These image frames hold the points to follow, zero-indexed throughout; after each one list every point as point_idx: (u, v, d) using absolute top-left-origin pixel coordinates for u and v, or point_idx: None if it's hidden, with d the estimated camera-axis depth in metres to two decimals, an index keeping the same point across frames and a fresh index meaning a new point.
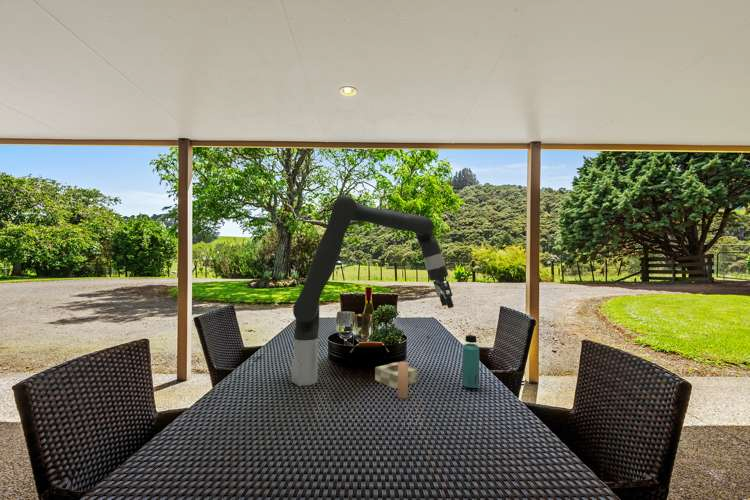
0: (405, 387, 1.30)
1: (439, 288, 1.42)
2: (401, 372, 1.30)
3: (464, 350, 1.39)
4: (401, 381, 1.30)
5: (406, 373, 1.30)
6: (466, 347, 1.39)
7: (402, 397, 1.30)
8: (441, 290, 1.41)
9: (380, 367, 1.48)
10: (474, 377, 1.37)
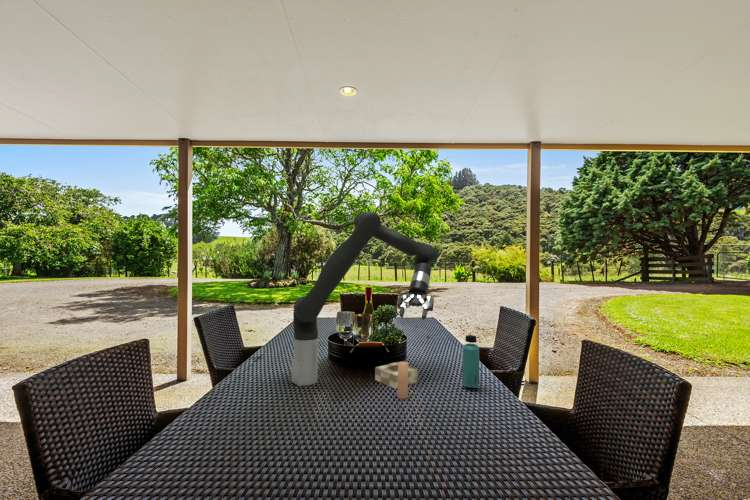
0: (405, 387, 1.30)
1: (421, 298, 1.45)
2: (401, 372, 1.30)
3: (464, 350, 1.39)
4: (401, 381, 1.30)
5: (406, 373, 1.30)
6: (466, 347, 1.39)
7: (402, 397, 1.30)
8: (423, 301, 1.45)
9: (380, 367, 1.48)
10: (474, 377, 1.37)
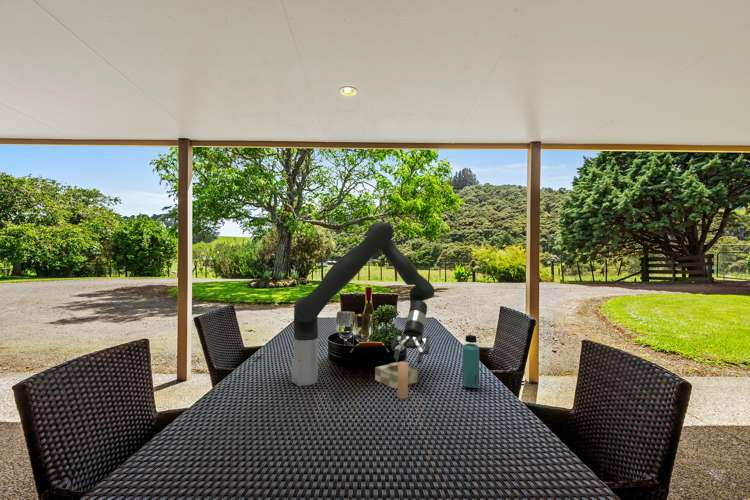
0: (405, 387, 1.30)
1: (417, 341, 1.40)
2: (401, 372, 1.30)
3: (464, 350, 1.39)
4: (401, 381, 1.30)
5: (406, 373, 1.30)
6: (466, 347, 1.39)
7: (402, 397, 1.30)
8: (418, 343, 1.39)
9: (380, 367, 1.48)
10: (474, 377, 1.37)
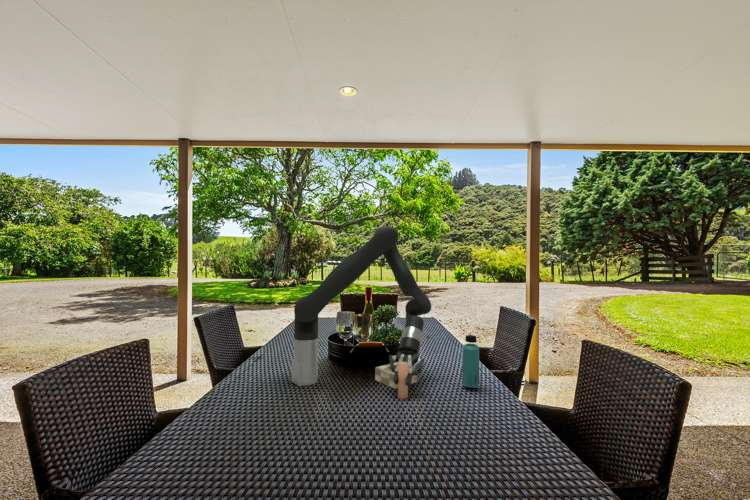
0: (405, 387, 1.30)
1: (410, 360, 1.33)
2: (401, 372, 1.30)
3: (464, 350, 1.39)
4: (401, 381, 1.30)
5: (406, 373, 1.30)
6: (466, 347, 1.39)
7: (402, 397, 1.30)
8: (411, 363, 1.33)
9: (380, 367, 1.48)
10: (474, 377, 1.37)
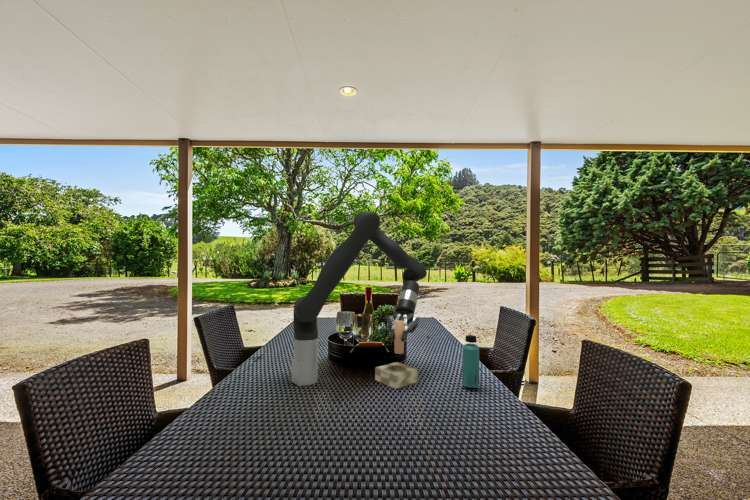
0: (401, 343, 1.40)
1: (406, 319, 1.43)
2: (397, 329, 1.40)
3: (464, 350, 1.39)
4: (397, 337, 1.40)
5: (402, 330, 1.40)
6: (466, 347, 1.39)
7: (398, 352, 1.40)
8: (407, 322, 1.43)
9: (380, 367, 1.48)
10: (474, 377, 1.37)
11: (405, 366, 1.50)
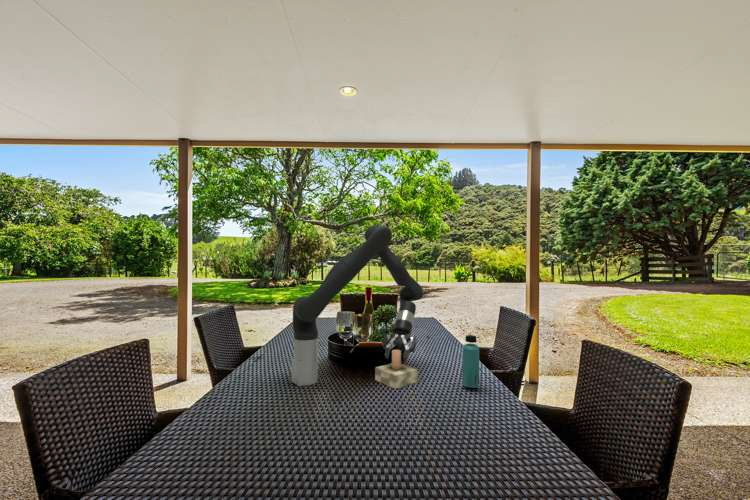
0: None
1: (404, 339, 1.49)
2: (394, 359, 1.46)
3: (464, 350, 1.39)
4: (395, 366, 1.46)
5: (399, 359, 1.46)
6: (466, 347, 1.39)
7: None
8: (406, 341, 1.48)
9: (380, 367, 1.48)
10: (474, 377, 1.37)
11: (405, 366, 1.50)
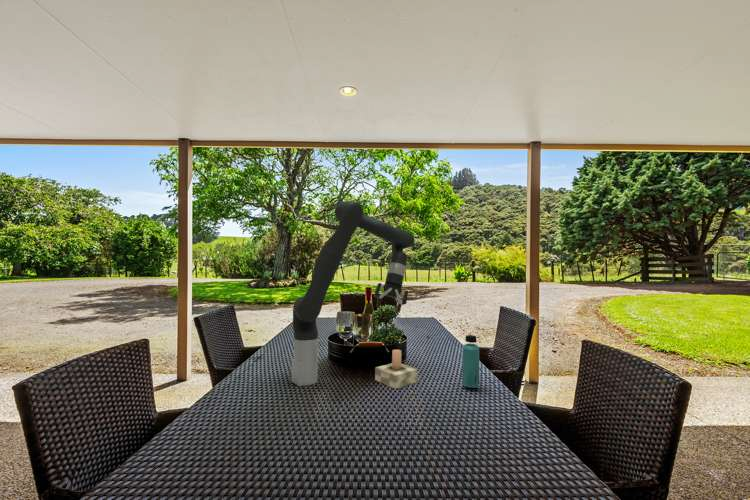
0: None
1: (398, 293, 1.60)
2: (395, 358, 1.46)
3: (464, 350, 1.39)
4: (395, 366, 1.46)
5: (399, 359, 1.46)
6: (466, 347, 1.39)
7: None
8: None
9: (380, 367, 1.48)
10: (474, 377, 1.37)
11: (405, 366, 1.50)
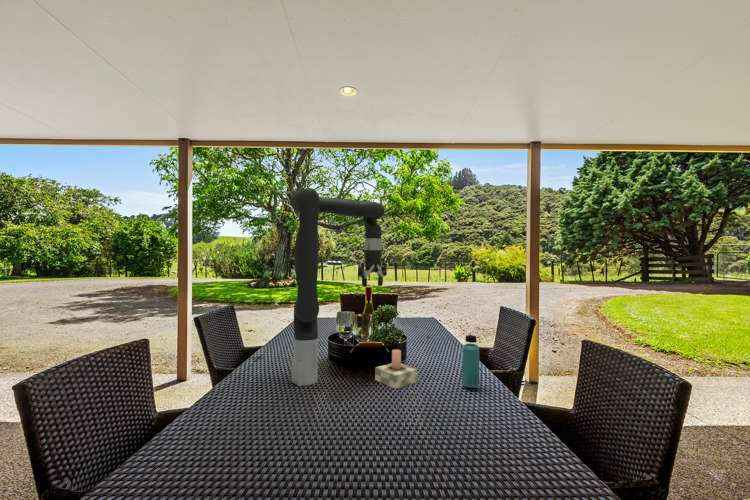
0: None
1: (379, 268, 1.61)
2: (394, 359, 1.46)
3: (464, 350, 1.39)
4: (395, 366, 1.46)
5: (399, 359, 1.46)
6: (466, 347, 1.39)
7: None
8: (380, 269, 1.62)
9: (380, 367, 1.48)
10: (474, 377, 1.37)
11: (405, 366, 1.50)
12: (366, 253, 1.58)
